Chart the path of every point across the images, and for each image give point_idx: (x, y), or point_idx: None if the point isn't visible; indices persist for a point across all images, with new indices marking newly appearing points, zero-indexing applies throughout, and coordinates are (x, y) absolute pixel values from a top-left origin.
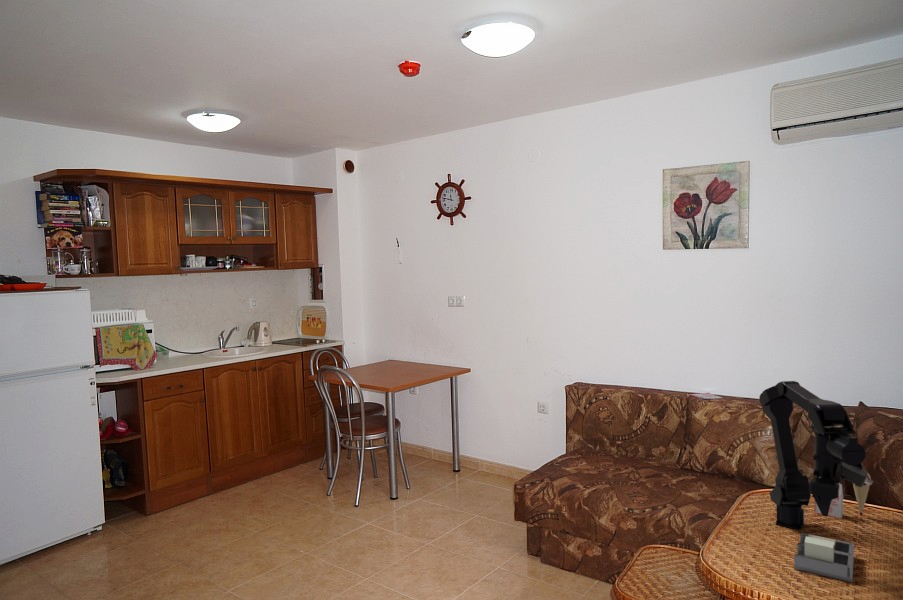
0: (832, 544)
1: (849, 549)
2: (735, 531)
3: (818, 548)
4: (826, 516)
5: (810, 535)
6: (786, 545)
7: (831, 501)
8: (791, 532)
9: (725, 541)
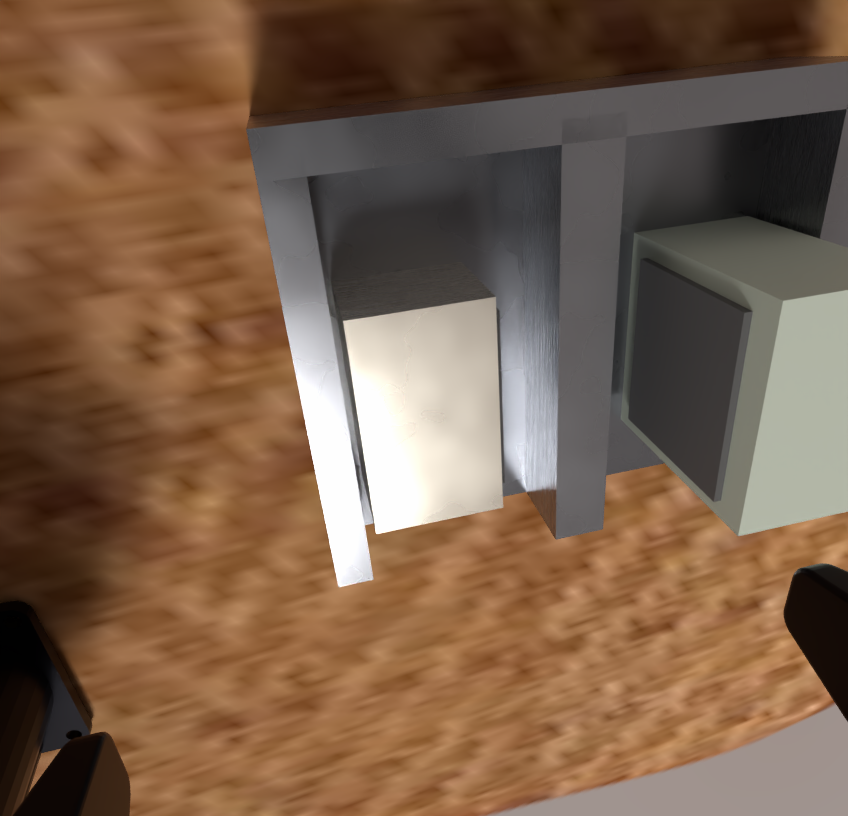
0: (845, 300)
1: (459, 151)
2: (389, 796)
3: None
4: (815, 569)
5: (392, 516)
6: (399, 570)
7: (77, 762)
8: (134, 622)
9: (551, 767)
